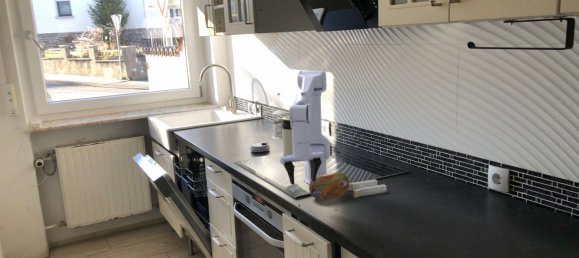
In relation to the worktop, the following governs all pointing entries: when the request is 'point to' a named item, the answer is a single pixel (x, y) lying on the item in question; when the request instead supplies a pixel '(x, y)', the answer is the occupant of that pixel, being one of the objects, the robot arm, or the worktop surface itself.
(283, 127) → the travel mug
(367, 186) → the door track
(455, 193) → the worktop surface
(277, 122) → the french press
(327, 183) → the tin
